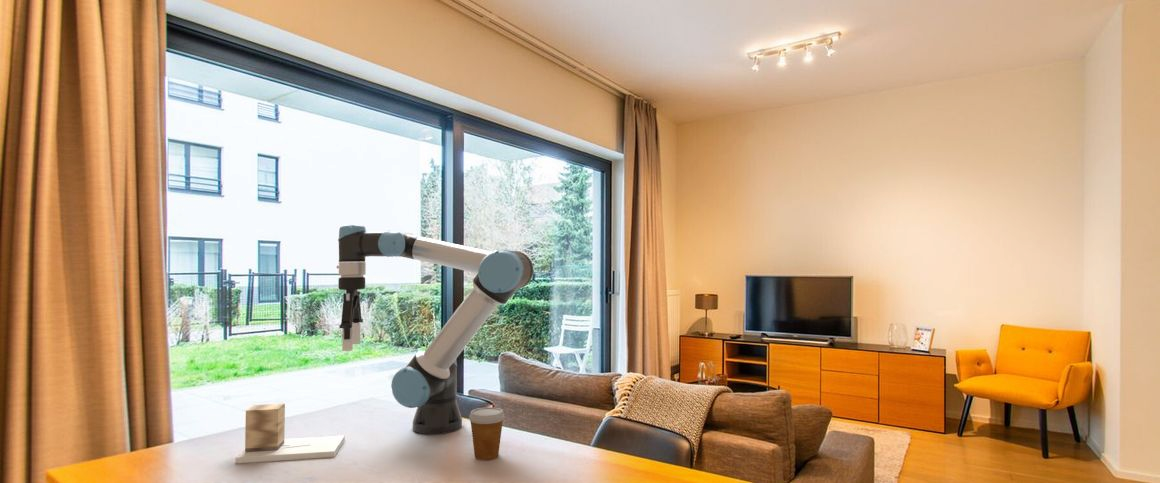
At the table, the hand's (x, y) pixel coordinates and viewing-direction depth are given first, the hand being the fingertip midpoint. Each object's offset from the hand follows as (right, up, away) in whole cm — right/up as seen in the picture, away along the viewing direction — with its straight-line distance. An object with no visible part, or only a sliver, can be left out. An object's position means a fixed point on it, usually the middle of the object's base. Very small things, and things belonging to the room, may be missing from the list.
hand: (351, 347), depth 171 cm
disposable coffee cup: (+43, -26, -18) cm, 54 cm away
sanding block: (-17, -25, -15) cm, 34 cm away
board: (-10, -26, -14) cm, 31 cm away
